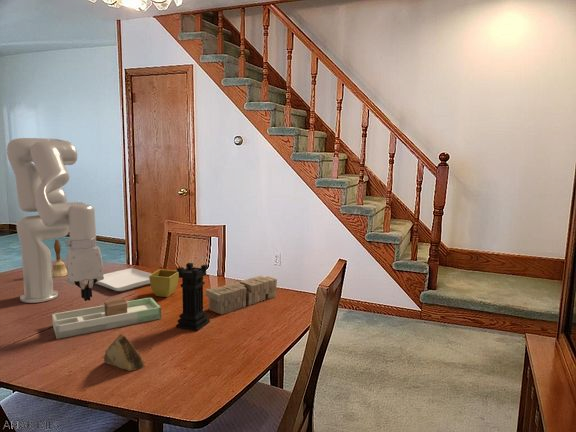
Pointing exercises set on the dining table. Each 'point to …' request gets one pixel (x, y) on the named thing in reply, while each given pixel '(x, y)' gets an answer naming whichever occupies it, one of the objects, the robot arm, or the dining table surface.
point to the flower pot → (164, 282)
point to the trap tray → (103, 318)
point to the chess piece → (192, 298)
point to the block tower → (241, 294)
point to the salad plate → (125, 279)
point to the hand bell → (58, 262)
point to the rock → (123, 355)
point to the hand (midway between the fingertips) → (86, 299)
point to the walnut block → (115, 307)
